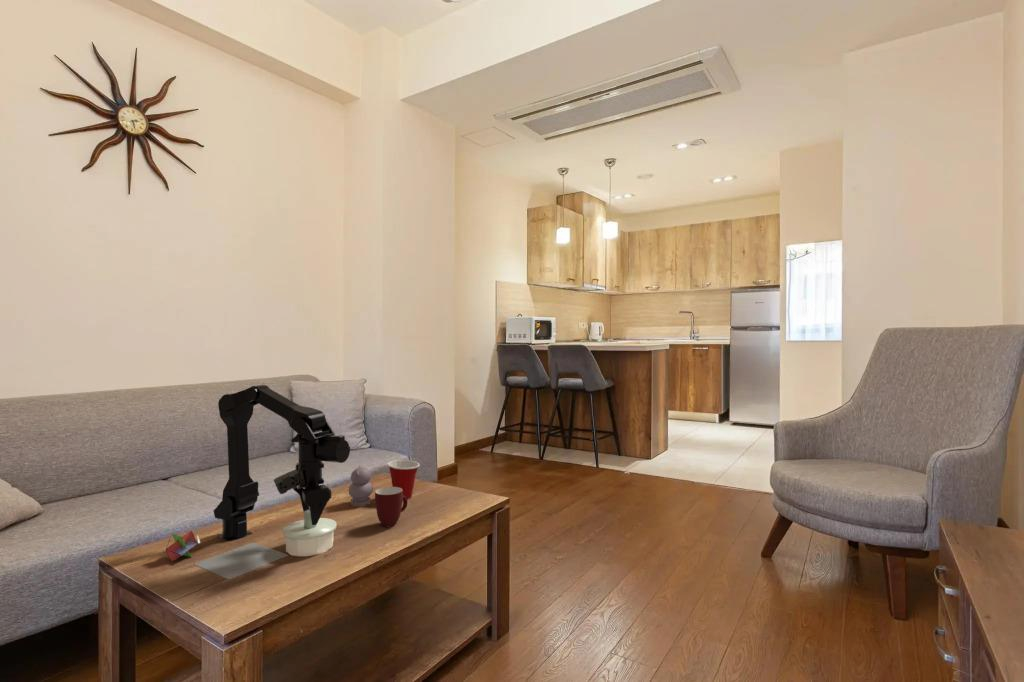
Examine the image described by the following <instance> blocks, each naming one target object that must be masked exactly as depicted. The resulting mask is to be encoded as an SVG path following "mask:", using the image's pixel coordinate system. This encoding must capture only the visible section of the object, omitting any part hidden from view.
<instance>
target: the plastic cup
mask: <svg viewBox="0 0 1024 682" xmlns="http://www.w3.org/2000/svg"><path fill="white" fill-rule="evenodd" d="M387 466H388V468H389V474H390V479H391V487H399V488H402V489H403V496H405V497H406V498H407V500H409V499H408V498H410V499H412V496H413V490H414V486H415V481H416V476H417V472H418V469H419V467H420V463H419V462H418V461H414V460H407V459H400V460H398V459H397V460H391V461H389V462H388V463H387Z"/></svg>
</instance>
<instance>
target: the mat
mask: <svg viewBox="0 0 1024 682" xmlns="http://www.w3.org/2000/svg"><path fill="white" fill-rule="evenodd" d="M288 556H289V554H288V553H284V552H281V551H278V550H276V549H273V548H269V547H267V546H265V545H261V544H259V543H257V542H251V543H248V544H245V545H242V546H240V547H237V548H234V549H231V550H229V551H226V552H223V553H221V554H218V555H214V556H212V557H210V558H207V559H203V560H201V561H198V562H196V563H193V565H195V566H196V567H199V568H201V569H203V570H206V571H209V572H211V573H213V574H215V575H218V576H220V577H222V578H225V579H227V580H233V579H234V578H237V577H240V576H241V575H244V574H246V573H249V572H251V571H252V572H253V570H256V569H259V568H261V567H263V566H266V565H270V564H271V563H273V562H276V561H278V560H280V559H283V558H286V557H288Z"/></svg>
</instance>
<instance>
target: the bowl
mask: <svg viewBox="0 0 1024 682" xmlns="http://www.w3.org/2000/svg"><path fill="white" fill-rule="evenodd" d="M334 531H335V530H334ZM334 531H333V532H332V533H330V534H327V535H325V536H322V537H318V538H313V539H304V540H296V539H289V538H286V537H285V552H286V553H287V554H288V555H291V556H292V557H310V556H316V555H320V554H323V553H325V552H327V551H329V550H330V549H331V548H332V547H333V546H334V535H335V534H334V533H335V532H334Z"/></svg>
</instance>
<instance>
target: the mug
mask: <svg viewBox="0 0 1024 682" xmlns="http://www.w3.org/2000/svg"><path fill="white" fill-rule="evenodd" d="M374 504H375V509H376V516H377V518H378V520H379V521H378V522H380V525H382V526H383V527H384V526H385V527H386V528H390V526H391V527H394V526H396V525H397V523H398V521H399V518H400V516H401V513H402V512H404V511H405V510H406V509H407V506H408V499H407V498H406V497H405V496H403V489H402V488H399V487H392V486H385V487H380V488H378V489H376V490H374Z"/></svg>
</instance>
